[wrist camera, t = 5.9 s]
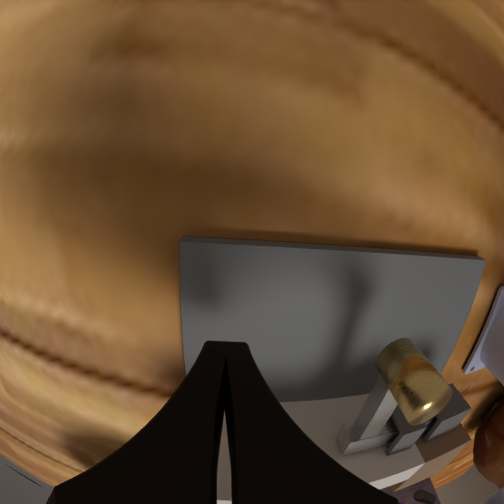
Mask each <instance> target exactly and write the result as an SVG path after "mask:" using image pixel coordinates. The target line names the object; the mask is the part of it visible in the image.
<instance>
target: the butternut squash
mask: <svg viewBox="0 0 504 504" xmlns="http://www.w3.org/2000/svg"><path fill="white" fill-rule="evenodd" d="M473 455H474V456H473V462H474V464H475V466H476V468H477V470H478V472H480V473H481V474H482V475H483V476H484V477H485V478H486V479H487V480H488V481H490V482H492V483H494V484H496V486H498V487H499V488H500V489H501V488H502V487H503V486H504V396H503V397H501V398H500V399H499V400H497V401H496V402H495V403H494V404H493V406H492V408H491V409H490V410H489V411H488V413H487V415H486V417H485V418H484V419H483V420H482V422H481V423H480V425H479V426H478V428H477V430H476V433H475V438H474V447H473Z"/></svg>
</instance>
